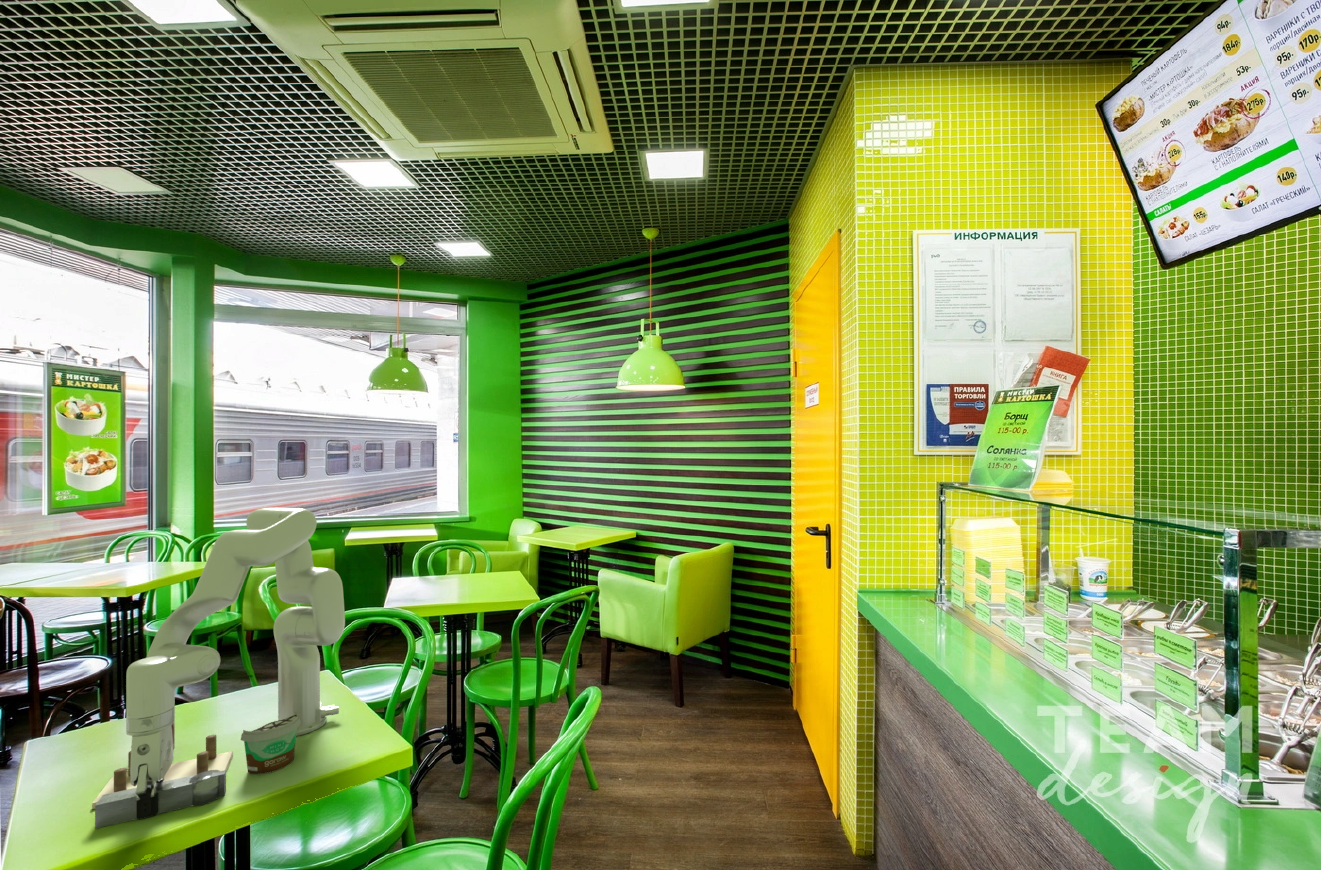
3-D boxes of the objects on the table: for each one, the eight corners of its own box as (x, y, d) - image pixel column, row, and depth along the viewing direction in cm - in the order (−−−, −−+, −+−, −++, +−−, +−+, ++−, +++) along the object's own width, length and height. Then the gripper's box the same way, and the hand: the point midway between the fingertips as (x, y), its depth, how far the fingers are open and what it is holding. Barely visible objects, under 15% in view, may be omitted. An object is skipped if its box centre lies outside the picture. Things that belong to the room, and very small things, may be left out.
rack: (232, 756, 143) (233, 730, 143) (223, 780, 132) (223, 752, 132) (113, 780, 133) (113, 752, 133) (92, 809, 122) (92, 778, 122)
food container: (253, 783, 131) (253, 737, 131) (240, 775, 134) (240, 730, 134) (311, 758, 141) (311, 715, 141) (297, 751, 144) (297, 710, 145)
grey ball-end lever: (227, 787, 129) (227, 766, 129) (222, 800, 124) (222, 778, 124) (104, 815, 120) (104, 792, 120) (93, 830, 115) (93, 806, 115)
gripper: (162, 732, 116) (162, 827, 115) (184, 700, 130) (184, 784, 130) (111, 742, 112) (111, 840, 112) (140, 708, 127) (140, 794, 127)
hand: (150, 809), depth 121 cm, fingers closed on grey ball-end lever, 4 cm apart
